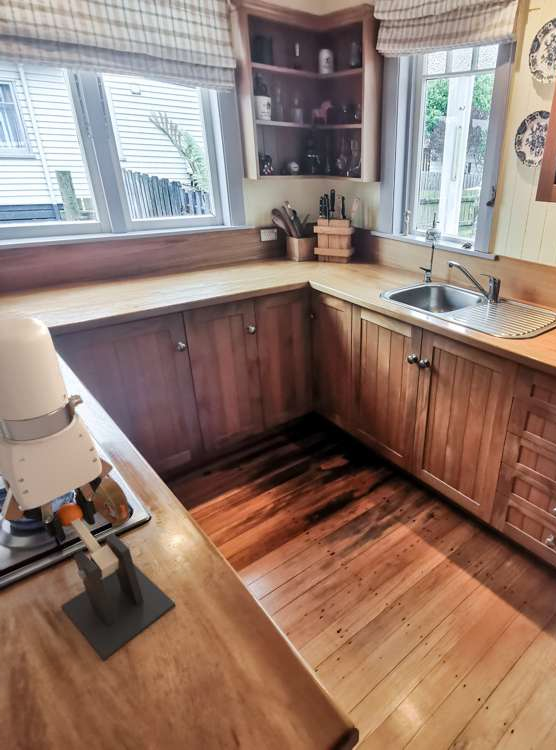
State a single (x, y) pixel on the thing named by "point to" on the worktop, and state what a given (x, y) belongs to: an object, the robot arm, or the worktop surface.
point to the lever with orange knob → (88, 539)
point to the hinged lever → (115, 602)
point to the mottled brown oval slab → (111, 502)
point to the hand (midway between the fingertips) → (73, 527)
